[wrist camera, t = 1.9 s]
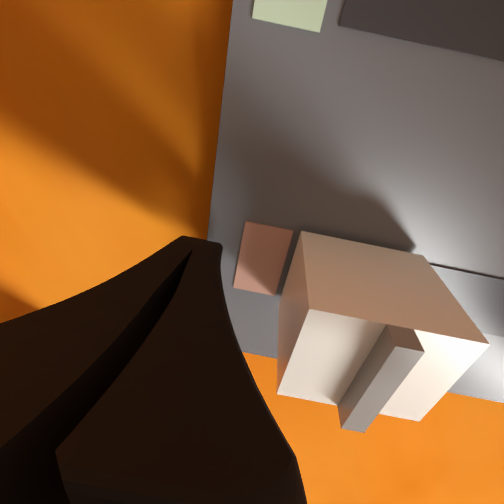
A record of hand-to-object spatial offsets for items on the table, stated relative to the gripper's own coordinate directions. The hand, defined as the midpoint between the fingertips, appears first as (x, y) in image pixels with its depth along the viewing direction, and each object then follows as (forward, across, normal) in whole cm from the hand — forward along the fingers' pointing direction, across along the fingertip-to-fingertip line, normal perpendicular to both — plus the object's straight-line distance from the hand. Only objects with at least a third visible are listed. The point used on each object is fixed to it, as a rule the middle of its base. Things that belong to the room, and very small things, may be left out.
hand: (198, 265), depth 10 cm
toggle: (+1, -5, 0) cm, 5 cm away
